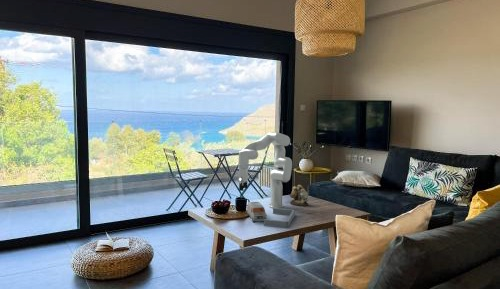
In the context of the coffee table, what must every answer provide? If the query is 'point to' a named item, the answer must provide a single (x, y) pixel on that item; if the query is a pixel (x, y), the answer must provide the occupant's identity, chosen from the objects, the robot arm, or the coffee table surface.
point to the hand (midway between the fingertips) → (243, 189)
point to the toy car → (256, 211)
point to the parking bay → (280, 223)
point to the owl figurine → (299, 196)
